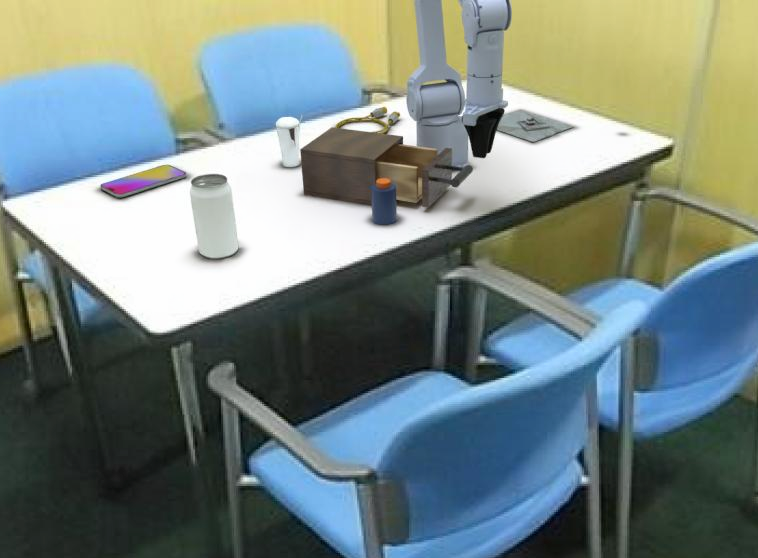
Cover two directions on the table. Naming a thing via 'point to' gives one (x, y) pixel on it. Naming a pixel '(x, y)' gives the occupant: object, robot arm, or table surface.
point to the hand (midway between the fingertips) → (481, 154)
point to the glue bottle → (384, 202)
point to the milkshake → (289, 140)
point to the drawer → (420, 172)
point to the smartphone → (143, 180)
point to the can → (214, 216)
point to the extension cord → (375, 113)
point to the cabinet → (344, 163)
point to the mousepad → (529, 126)
